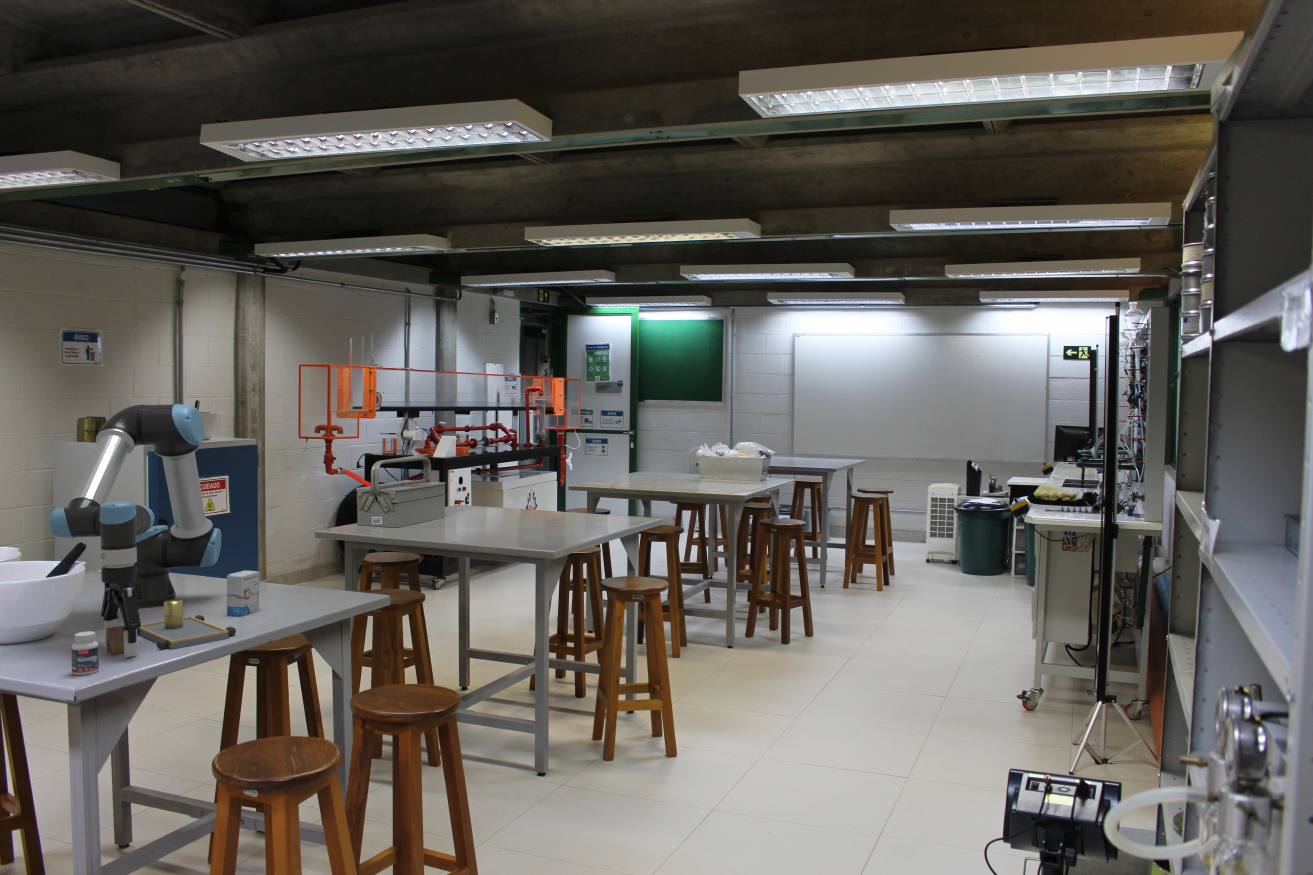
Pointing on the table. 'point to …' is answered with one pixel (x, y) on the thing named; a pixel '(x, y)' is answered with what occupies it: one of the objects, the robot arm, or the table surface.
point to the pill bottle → (85, 654)
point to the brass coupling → (173, 614)
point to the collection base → (184, 633)
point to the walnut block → (115, 640)
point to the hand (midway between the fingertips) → (121, 651)
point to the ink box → (242, 593)
